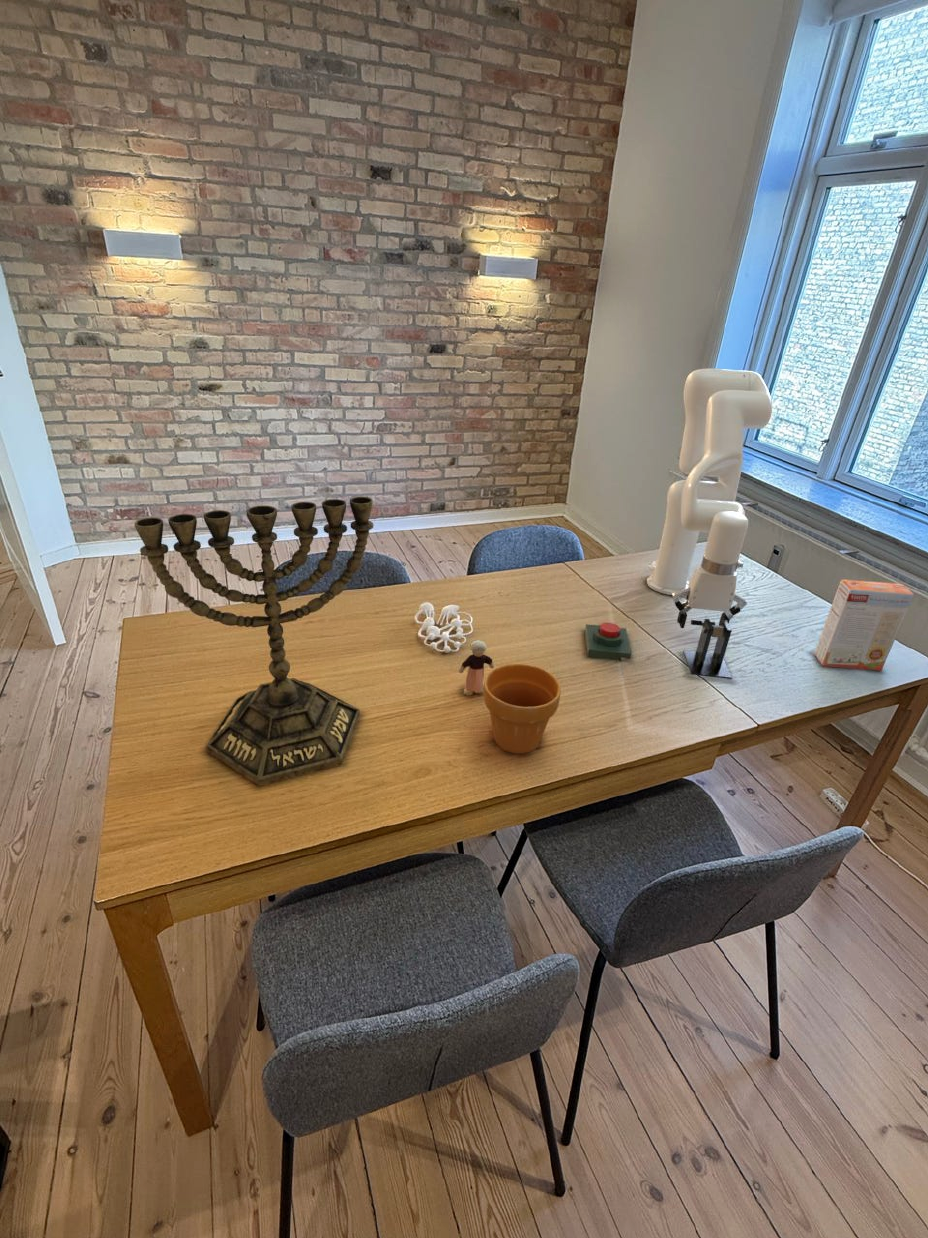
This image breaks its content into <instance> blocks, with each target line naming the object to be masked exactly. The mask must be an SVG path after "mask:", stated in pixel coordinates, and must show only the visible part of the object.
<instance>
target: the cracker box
mask: <svg viewBox="0 0 928 1238" xmlns="http://www.w3.org/2000/svg"><path fill="white" fill-rule="evenodd" d="M914 597H915V593H914V592H913V591H911V590H910V589H909V588H908V587H906V586H905V585H904V584H903V583H894V582H881V581H869V580H868V581H867V580H855V579H840V581H839V584H838V587H837V590H836V592H835V594H834V597H833V601H832V603H831V606H830V608H829V611H828V615H827V616H826V619H825V622H824V625H823V628H822V630H821V634H820V637H819V639H818V642H817V644H816V648H815V650H814V653H813V655H814V656H815V657H816V659H817V660H818V662H819V663H820V665H821V666H823V667H829V668H841V669H853V670H854V669H855V670H864V671H866V670H867V671H876V672H877V671H878V672H882V671H883V668H884V666H885V664H886V661H887V659H888V657H889V655H890V653H891V650H892V649H893V648H892V647H893V646H894V643H895V641H896V639H897V637H898V634H899V631H900V629H901V627H902V625H903V622H904V620H905V618H906V615H907V613H908V610H909V608H910V606H911V604H912V602H913V599H914Z"/></svg>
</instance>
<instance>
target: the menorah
mask: <svg viewBox="0 0 928 1238" xmlns="http://www.w3.org/2000/svg"><path fill="white" fill-rule="evenodd" d="M373 505H374V501H373V499H372V498H371V497H369V496H353V497H350V499H349V506H350V509H351V513H352V515H353V519H354V520H353V521H352V522H350V529H352V530H353V531H355V536H356V538H357V539H356V540H355V545H354V550H353V551H352V556H350V557H349V558H348V559H347V561H346V565H345V566H346V567H345V569H343V570H342V573H341V574H340V575H339V578H336V579H335V580H333V581H332V582H331V584H330V585H329V587H328V589H327V590H325V591H324V593H321V594H320V595H319V597H314V598H312V599H311V600H309V601H308V602H307V604H303V605H301V606H300V607H296V608H295V609H290V610H287V611H285V612H282V606H281V604H280V603H279V602H284V601H287V600H288V599H289V598H293V597H294V596H298V595H299V594H300V593H305V592H308V591H309V590H311V589H312V588H313V587H314V586H315V584H317V583H319V582H320V579H322V578H323V577H325V574H326V573H328V572H330V571H331V570H332V569H333V566H334V560H335V559H336V557H337V554H338V552H339V550H338V549H339V548H340V541H341V540H342V538H343V535H344V534H345V533H346V532H347V531H348V526H347V525H346V524H345V523H343V521H344V518H345V515H346V510H347V502H346V501H345V500H343V499H340V498H339V499H338V498H330V499H325V500H322V502H321V508H322V511H323V513H324V516H325V519H326V522H327V524H324V526H323V532H324V533H326V534H327V535H328V539H329V542H328V543H327V546H328V547H327V548H326V553H325V554H324V556H323V557H322V558H320V559H319V561H318V563H317V568H315V569H314V570H313V572H311V573H309V577H307V578H304V579H302V580H300V581H299V582H298V583H297V585H294V586H292V587H291V588H287V589H286V590H280V591H279V584H278V581H276V580H281V579H284V578H285V577H289V576H291V575H292V574H293V573H294V572H296V571H297V570H298V568H300V567H302V566H303V565H305V564H306V562H307V560H308V554H309V553H310V552H311V545H312V543H313V541H314V537H315V536H317V535H318V534H319V529H318V528H317V527H316V526H313V525H314V521H315V517H316V513H317V504H316V503H314V502H311V501H297V502H294V503H292V504H291V506H290V508H291V513H292V515H293V518H294V520H295V522H296V525H297V527H295V528H294V529H293V535H294V536H295V537H297V538H298V540H299V544H300V545H299V546H298V549H297V550H296V551H295V552H294V553H293V554H292V555H291V561H289V562H287V564H286V565H282V568H276V569H275V562H274V560H273V556H272V549H271V548H272V546H273V544H274V542H275V541H277V539H278V534H277V533H276V532H275V531H273V530H274V527H275V523H276V519H277V517H278V509H277V508H276V507H275V506H272V505H262V504H261V505H255V506H251V507H249V508H247V509H246V510H245V513H246V518H247V519H248V522H249V523H250V525H251V526H252V528H253V530H254V531H255V532H254V533H253V534H252V535H251V540H252V541H253V542H254V543H256V544H257V545H258V548H260V550H261V552H260V553H261V563H260V567H261V571H256V572H254V571H253V570H252V569H248V568H247V567H243V564H242V562H241V561H240V560H238V559H236V558H233V556H232V555H231V546H233V545H234V544H235V539H234V537H233V536H230V535H229V533H230V527H231V522H232V514H231V512H230V511H228V510H223V509H217V510H216V509H215V510H210V511H207V512H204V513H203V521H204V523H205V525H206V527H207V529H208V530H209V533H210V534H211V537H210V538H209V539H207V544H208V546H209V547H210V548H212V549H213V548H214V551H215V553H216V554H217V555H218V556H219V560H220V562H221V564H223V565H224V567H225V569H226V571H227V572H228V573H229V574H232V575H234V576H237V577H239V578H240V579H242V580H246V581H248V582H252V581H254V582H256V583H260V582H261V583H262V587H261V588H262V591H263V593H264V594H263V593H260V594H258V593H257V594H256V595H255V594H254V593H250V594H249V593H243V592H242V591H240V590H238V589H229V588H228V587H227V586H226V585H223V584H222V583H220V582H218V581H217V579H216V577H215V576H214V575H213V574H211V573H208V572H207V571H206V569H204V567H203V565H202V564H201V563H200V559H198V558H197V557H198V550H200V549H201V547H202V543H201V542H200V541H199V540H196V539H195V537H196V531H197V526H198V525H197V524H198V518H197V516H196V515H194V514H190V513H181V514H175V515H172V516H170V517H169V518H168V519H167V521H168V525H169V527H170V529H171V531H172V532H173V534H174V537H175V538H176V540H177V542H175V543H174V544H173V550H174V551H175V552H177V553H180V556H181V557H182V558H183V560H184V561H185V562H186V565H187V566H188V568H189V569H190V572H191V573H192V574H193V576H194V578H195V579H198V583H199V584H200V586H201V587H202V588H203V589H206V590H211V591H212V592H213V594H217V595H218V596H219V597H220V598H225V599H226V600H228V601H230V602H233V603H241V602H242V603H245V604H247V603H250V604H256V605H264V607H263V608H264V609H263V611H264V615H263V616H262V615H253V616H250V615H246V616H245V615H236V614H235V613H233V612H228V611H226V612H225V611H223V612H222V611H220V610H216V609H214V608H211V607H210V606H209V605H208V604H207V603H206V602H205V601H202V600H200V599H195V597H194V596H192V595H190V593H188V592H186V591H185V588H184V586H183V585H182V583H180V582H179V581H176V580H175V579H174V577H173V575H171V574H170V573H171V572H170V571H169V569H167V565H166V564H165V563H164V562H165V555H166V554H167V553H168V552H169V546H168V545H167V544H165V543H162V542H163V535H164V521H163V519H162V518H159V517H153V516H152V517H143V518H140V519H137V520H136V521H134V523H133V524H134V528H135V530H136V532H137V534H138V536H139V537H140V539H141V541H142V543H143V546H142V547H141V548H140V549H139V552H140V555H142V556H143V557H147V560H148V562H149V564H150V566H151V568H152V571H153V572H154V573H156V574H155V576H156V578H157V579H159V582H160V584H161V585H163V586H164V591H165V593H166V594H167V595H168V596H169V597H172V598H174V599H177V601H178V602H179V603H181V604H183V606H184V608H188V609H189V610H190V611H191V612H192V614H195V615H196V616H199V617H205V618H206V619H208V620H213V621H214V622H219V623H220V624H222V625H225V626H229V627H233V626H237V627H240V628H242V627H245V628H250V627H251V628H260V627H267V628H266V632H267V635H268V637H269V639H268V646H269V648H270V651H269V655H270V658H271V661H270V662H269V665H268V671H269V673H270V675H271V676H272V677H273V678H274V679H272V681H270V682H266V683H261V684H259V686H258V687H257V688H256V689H254V690H250V691H247V692H246V693H243V694H242V695H240V696H238V697H237V698H236V699H235V701H234V702H233V704H232V705H231V707H230V708H229V710H228V711H227V713H226V715H225V716H224V718H223V719H222V721H221V722H220V724H219V725H218V727H217V728H216V730H215V731H214V732H213V734H212V736H211V737H210V739H209V740H208V742H207V743H206V745H205V748H206V752H207V753H208V754H210V755H212V756H213V757H215V758H216V759H217V760H219V761H221V762H222V763H224V764H225V765H227V766H228V767H230V768H231V769H233V770H234V771H235V772H237V773H239V774H240V775H242V776H243V777H245V778H246V779H248V780H249V781H251V782H252V783H254V784H255V785H257V786H258V787H262V786H266V785H270V784H275V783H277V782H281V781H285V780H288V779H293V778H297V777H300V776H304V775H307V774H312V773H315V772H319V771H323V770H328V769H330V768H334V767H338V766H342V765H343V762H344V759H345V757H346V754H347V752H348V748H349V746H350V743H351V740H352V737H353V735H354V732H355V730H356V727H357V725H358V721H359V719H360V716H361V712H360V708H358V707H355V706H353V705H351V704H349V703H348V702H347V701H344V700H342V699H340V698H338V697H337V696H335V695H332V694H331V693H329V692H326V691H325V690H323V689H321V688H319V687H317V686H315V685H313V684H311V683H309V682H306V681H303V680H299V679H297V678H295V677H290V678H289V677H288V675H289V673H290V670H291V664H290V662H289V661H288V660H287V659H286V656H287V655H286V653H287V652H286V650H285V648H284V647H285V638H284V637H283V635H284V627H283V625H282V624H284V623H290V622H294V621H297V620H298V619H302V618H303V617H304V616H309V615H310V614H312V613H315V612H317V611H319V610H321V609H323V607H324V606H325V605H327V604H329V602H330V601H332V600H334V599H335V597H336V596H339V595H340V594H341V593H343V592H344V590H345V589H346V587H347V584H349V583H350V582H351V578H354V574H355V573H356V572H357V571H358V570H359V569H361V567H362V564H363V561H362V559H363V558H364V557H365V551H366V550H367V549H366V546H367V545H368V537H369V535H370V531H371V530H372V529H373V528H374V523H373V522H372V521H371V520H370V516H371V512H372V508H373ZM265 615H266V616H265Z"/></svg>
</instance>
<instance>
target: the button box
mask: <svg viewBox="0 0 928 1238" xmlns="http://www.w3.org/2000/svg"><path fill="white" fill-rule="evenodd" d="M600 626H601V624H585V626H584V627H585V628H584V638H585V647H586V657H587V658H593V659H603V660H611V661H612V660H613V661H622V658H624V659H631V657H632V650H631V649H632V648H631V644H630V641H629V636H628V632H627V627H619V628H620V630H619V635H618V637H615V638H609V637H605V636H602V635H601V634H600V633H599V631H600Z"/></svg>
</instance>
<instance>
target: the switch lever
mask: <svg viewBox="0 0 928 1238" xmlns="http://www.w3.org/2000/svg"><path fill="white" fill-rule="evenodd" d="M710 622H711V624H712V626H713V632H712V636H711V638H716V639H718V638H722V636H723V630H724V628H723V627H722V626H719V624H716V622H715V621H714V620H713V621H712V620H710ZM703 624H704V620H702V619H691V620H690V626H698V627H699V626H700V627H703Z"/></svg>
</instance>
